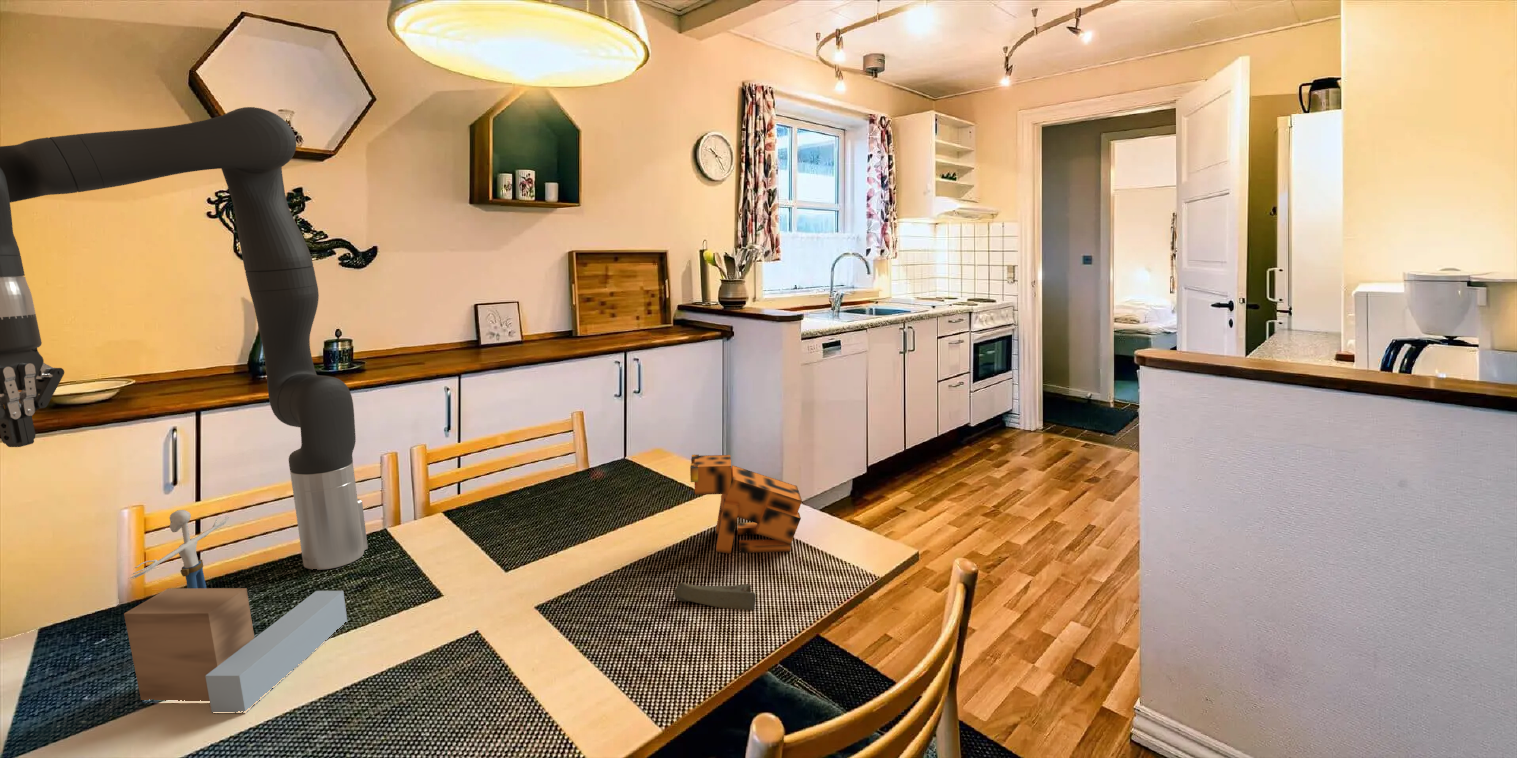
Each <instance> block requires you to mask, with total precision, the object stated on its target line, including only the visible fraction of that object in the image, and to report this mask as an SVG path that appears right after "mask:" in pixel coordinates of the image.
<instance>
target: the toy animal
mask: <svg viewBox="0 0 1517 758" xmlns="http://www.w3.org/2000/svg"><path fill="white" fill-rule="evenodd" d="M689 466H690V467H689V469H690V470H689V471H690V472H689V473H690V474H689V475H690V483H694V495H695V496H701V495H704V496H705V495H720V503H719V510H718V514H717V521H716V528H715V529H716V531H715V533H716V535H717V539H716V545H715V549H716V553H723V554H730V555H731V553H732V548H733V544H734V538H735V532H736V531H735V530H736V527H737V535H738V536H739V535H740V536H742V535H743V536H744V535H746V536H748V535H758V536H762V537H766V538H763V539H761V538H760V539H756V538H755V539H739V540H738V543H739V544H738V548H739V553H740V554H748V553H749V554H750V553H782V552H791V548H792V547H791V545H792V542H793V539H794V538H795V535H796V532H797V529H798V527H799V524H800V521H801V515H800V512H799V510H800V508H801V505H802V502H803V500H802V497H801V494H800V491H799V488H798V485H794V484H792V483H789V482H786V481H782V480H780V479H776V478H774V477H771V476H767V475H764V474H761V473H758V472H754V471H752V470H748V469H745V468H742V467H739V466H737V465H734V464H732V460H731V454H714V455H706V454H705V455H699V454H691V463H690V465H689ZM738 518H739V519H742V520H745V521H747V522H737V521H738Z"/></svg>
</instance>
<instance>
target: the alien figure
mask: <svg viewBox="0 0 1517 758" xmlns="http://www.w3.org/2000/svg"><path fill="white" fill-rule="evenodd" d="M191 515H192V514H191V512H189V511H187V509H186V510H185V509H179V510H176V511H173V512H171V514H170V515H169V521H170V523H169V529H170V531H171V532H172V533H177V532H179V530H180V529H181V530H182V532H181V533H182V538H183V542H182V544H181V545H179V547H178V548H175V549H173V551H171V552H169V553H167V554H166V555H164V556H163V557H161V558H160V559H159V560H157V559H153V560H146V561H144V562H141V563H139V564H138V565H137V566H135V567H134V569H137V568H138V567H140V566H141V565H144V564H146V563H151V564H150V565H148V566H147V567H144V568H142V569H139V570H138V571H135V572H133V573H131V574H130V577H129V579H130V580H133V579H137V578H138V577H140V576H143V575H145V574H146V573H148V572H150V571H152V570H154V569H155V568H156V567H157V566H158V565H159V564H161V563H164V562H166V561H168V560H170V559H172V558H174V557H175V556H176V555H179V556H180V558H181V560H182V561H183V566H182V567H181V569H180V574H181V576H182V577H185V581H186V586H187V587H186V588H207V584H206V579H205V575H204V568H203V567H204V562H203V559H199V557H198V555H197V545H198V541H200V540H203V538H206V537H207V536H208V535H209V534H211V532H213V531H215V530H217V529H219V528H221V527H222V526H224V525H225V524H226V523H227V521H228V520H229V519H230V516H229V515H227V516H225V518H224V519H223V520H222V521H220V522H218V519H220V518H221V517H222V515H220V516H217V518H216V519H215V522H214V523H213V525H212V527H211V528H209V529H207V530H206V531H204V532H202V533H201V534H199V535H197V536H195V537H192V538H191V536H190V530H189V525H188V522H190V520H191V519H192V516H191ZM217 522H218V523H217Z"/></svg>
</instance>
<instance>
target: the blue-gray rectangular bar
mask: <svg viewBox="0 0 1517 758" xmlns="http://www.w3.org/2000/svg"><path fill="white" fill-rule="evenodd" d="M344 593H345V592H344V590H315V591H314V592H313V593H312V594H310V595H309V596H307V597H306V598H305V599H304V600H302V601H300V603H299V604H297V605H296V606H295V607H293V608H292V609H290V610H289V611H288V612H287V613H285V614H283V615H282V616H281V617H280V618H278V619H277V620H276V621H275V622H273V623H271V625H270V626H268V627H267V628H266V629H264V630H263V631H262V632H260V633H259V634H258V635H257V636H254V639H253V640H251V641H250V642H249V643H247V644H246V645H245V646H243V647H242V648H241V649H240V650H238V651H237V652H236V653H234V654H233V655H232V656H230V657H229V658H228V659H226V660H225V661H224V662H223V663H221V664H220V665H219V666H217V667H216V668H215V669H213V670H212V671H211V672H209V673H208V674H207V675H206V676H205V677H206V682H207V688H208V694H209V699H210V704H209V705H210V710H211V713H212V712H238V711H240V712H241V711H243V712H244V711H246V710H247V709H248V708H250V707H251V706H252V705H253V704H254V703H255V702H256V701H258V700H259V699H260V697H262V696H263V695H264V694H265V693H267V692H268V691H269V690H270V689H272V687H273V686H275V685H276V684H277V683H278V682H279V681H280V680H281V679H282V678H284V677H285V676H286V675H287V674H288V673H289V672H290V671H292V670H293V669H294V668H295V667H297V666H298V664H300V663H301V664H302V663H303V662H302V661H303V660H304V659H306V658H307V657H308V656H309V655H310V654H311V653H312V652H314V651H315V649H316V648H318V647H319V646H320V645H321V644H322V643H323V642H324V641H325V640H327V639H328V638H329V637H330V636H331V635H332V634H333V633H334V632H336V630H337V629H339V628H340V627H341V626H342V625H344V623H345V622H347V623H348V616H347V615H348V614H347V609H346V608H347V607H346V602H345V594H344ZM344 626H345V625H344ZM342 627H343V626H342ZM342 627H341V628H342ZM341 628H340V629H341ZM340 629H339V630H340ZM336 633H337V632H336ZM332 636H333V635H332ZM332 636H331V637H332ZM331 637H330V638H331ZM330 638H329V639H330ZM329 639H328V640H329ZM328 640H327V641H328ZM322 645H323V644H322ZM322 645H321V646H322ZM321 646H320V647H321ZM320 647H319V648H320ZM319 648H318V649H319ZM315 652H316V651H315ZM312 654H313V653H312ZM312 654H311V655H312ZM311 655H310V656H311ZM310 656H309V657H310ZM309 657H308V658H309ZM308 658H307V659H308ZM307 659H306V660H307ZM301 664H300V665H301ZM298 667H299V666H298ZM298 667H297V668H298ZM293 671H294V670H293ZM293 671H292V672H293ZM272 690H273V689H272Z"/></svg>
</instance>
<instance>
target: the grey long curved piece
mask: <svg viewBox="0 0 1517 758" xmlns="http://www.w3.org/2000/svg"><path fill="white" fill-rule="evenodd" d="M751 587H752V585H751V584H750V583H742V584H734V585H699V584H698V585H695V584H690V583H686V582H680V583H679V584H678V585H677V586H676V588H675V589H674V590H673V591H674V592H673V594H674V597H675V598H676V600H678V602H682V603H683V602H685V603H686V602H687V603H688V602H692V603H696V604H701V605H705V606H709V607H715V608H720V609H721V608H722V609H733V610H745V611H753V610H755V607H756V602H757V601H756V600H757V598H756V596H757V595H756V593H755V592H754V591H752V588H751Z"/></svg>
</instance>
